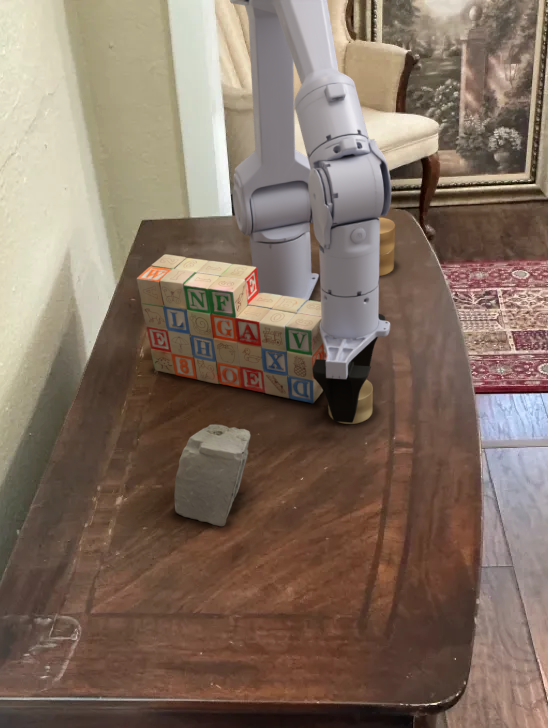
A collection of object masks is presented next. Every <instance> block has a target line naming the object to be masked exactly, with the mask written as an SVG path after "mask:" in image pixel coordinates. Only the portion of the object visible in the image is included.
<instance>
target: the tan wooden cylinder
mask: <svg viewBox="0 0 548 728" xmlns="http://www.w3.org/2000/svg"><path fill="white" fill-rule="evenodd" d="M373 401H374V387H373V384H372V382H371V381H370V380H368V379H366V380H365V382H364V384H363V385H362V387H361V389H360V393H359V398H358V405H357V410H356V414H355V417H354V420H353V422H352V423H347V422H339V423H340V424H344V425H345V424H346V425H356V424H359V423H363V422H365V421H366V420H368V419H370V417H371V416H372V415H373V408H374V407H373V406H374V405H373V404H374V403H373ZM327 405H328V404H327ZM327 408H328V409H327V410H328V415H329V418H330V419H332V420H333V417H332V414H331V411H330V408H329V405H328V406H327Z"/></svg>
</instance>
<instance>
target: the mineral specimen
mask: <svg viewBox="0 0 548 728" xmlns="http://www.w3.org/2000/svg"><path fill="white" fill-rule="evenodd" d="M251 436H252V435H251V431H249V430H247V429H246V428H240V429H239V428H237V427H235V426H233V427H228V426H226V425H223V424H209V425H208V426H207V427H204V428H202V429H201V430H199V431H197V432H196V433H194V434H192V435H191V436H190V437H189V438H188V440H187V443H186V446H185V447H184V448H183V449H182V453H181V456H180V458H179V461H178V468H177V471H176V476H175V481H174V495H173V496H174V511H175V513H176V514H178V515H180V516H182V517H184V518H189V519H192V520H198V521H199V522H205V523H209V524H211V525H213V526H217V527H218V526H219V527H224V526H225V525H226V523H227V518H228V516H229V513H230V511H231V509H232V505H233V502H235V498H236V497H237V495H238V492H239V490H240V486H241V482H242V477H243V474H244V471H245V467H246V463H247V459H248V455H249V450H248V448H249V442H250V440H251Z"/></svg>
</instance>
